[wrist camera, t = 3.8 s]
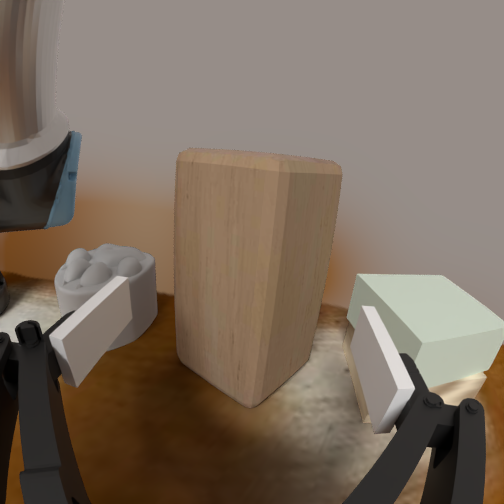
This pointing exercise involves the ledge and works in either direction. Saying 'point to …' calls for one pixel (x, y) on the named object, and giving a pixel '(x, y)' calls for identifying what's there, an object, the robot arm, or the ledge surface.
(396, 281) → the tower top
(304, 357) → the block
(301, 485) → the ledge surface
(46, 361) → the robot arm
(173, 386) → the ledge surface
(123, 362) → the ledge surface
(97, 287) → the lumpy-topped squat cylinder
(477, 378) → the tower bottom
